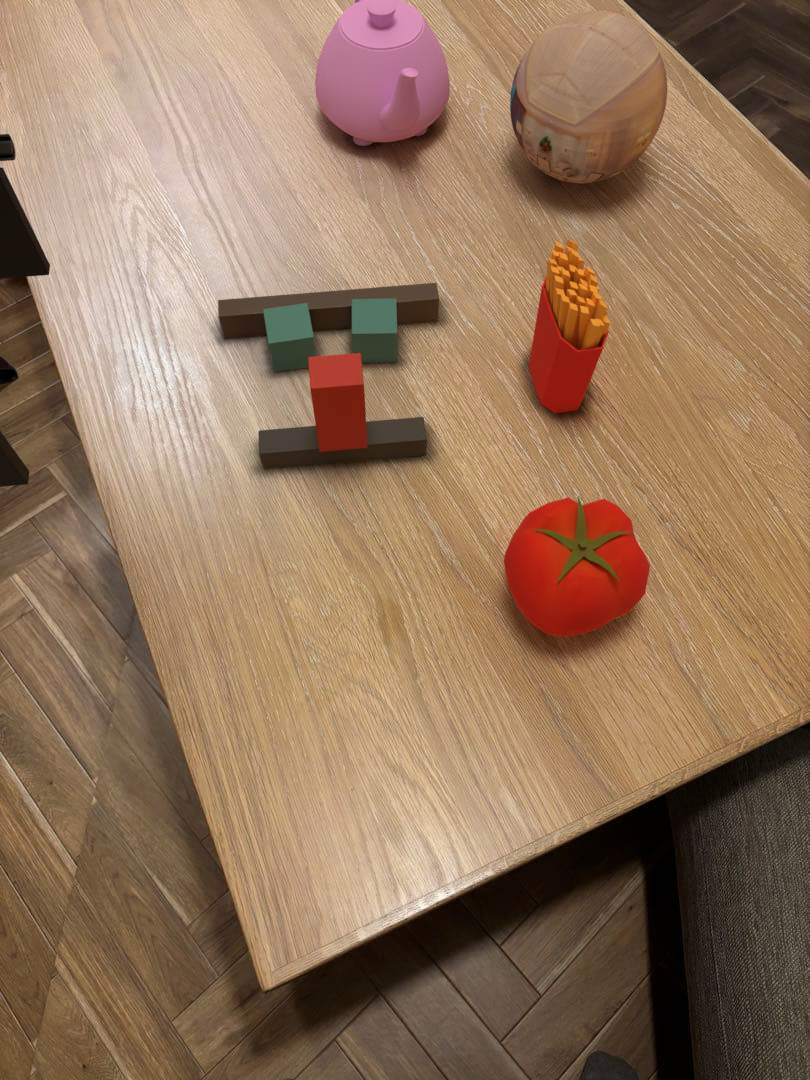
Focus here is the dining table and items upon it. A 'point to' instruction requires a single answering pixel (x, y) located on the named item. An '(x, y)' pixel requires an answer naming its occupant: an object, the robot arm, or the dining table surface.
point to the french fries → (567, 331)
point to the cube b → (375, 329)
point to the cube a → (289, 336)
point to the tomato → (575, 566)
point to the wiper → (340, 423)
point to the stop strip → (328, 308)
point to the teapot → (382, 72)
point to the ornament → (588, 96)
